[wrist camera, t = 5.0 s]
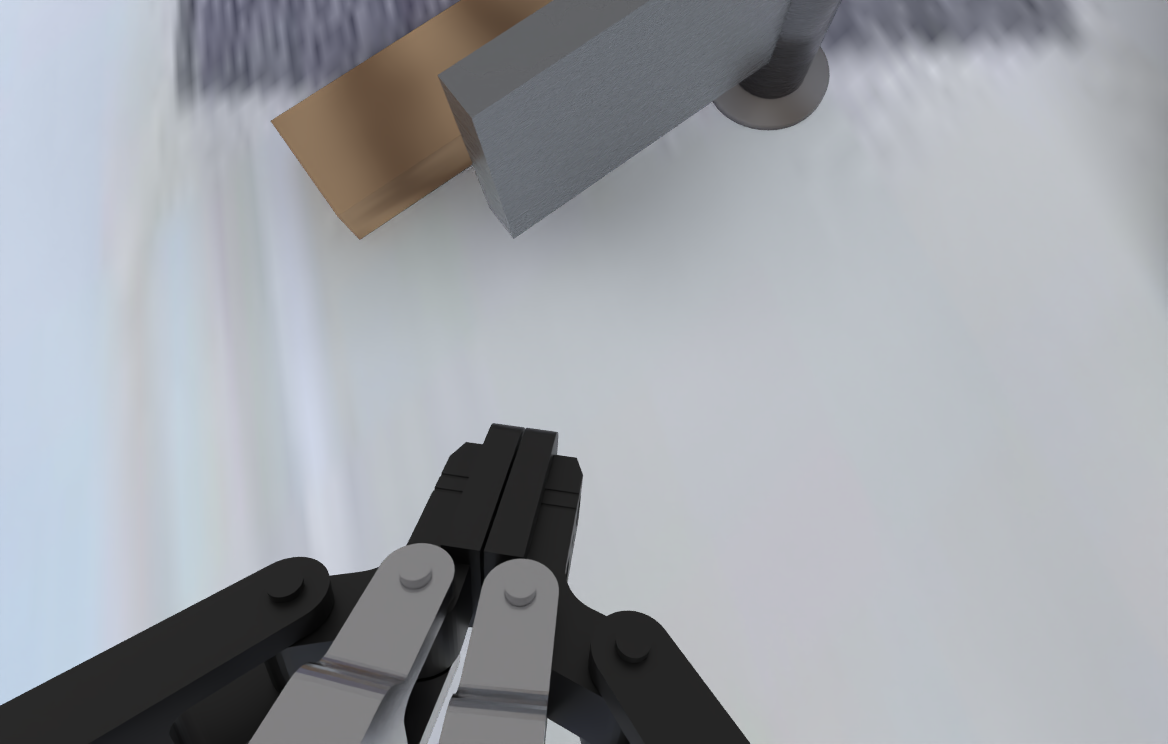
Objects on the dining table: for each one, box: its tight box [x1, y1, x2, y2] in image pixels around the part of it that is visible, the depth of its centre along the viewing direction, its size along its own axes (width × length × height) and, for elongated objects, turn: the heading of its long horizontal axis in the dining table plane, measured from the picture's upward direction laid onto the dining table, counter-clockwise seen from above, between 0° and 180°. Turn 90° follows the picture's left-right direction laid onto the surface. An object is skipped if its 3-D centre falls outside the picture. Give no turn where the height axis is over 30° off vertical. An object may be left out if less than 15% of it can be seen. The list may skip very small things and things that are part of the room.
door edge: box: [271, 0, 829, 240], centre depth 26 cm, size 26×18×8 cm
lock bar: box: [438, 0, 842, 239], centre depth 23 cm, size 17×4×10 cm, turn 126°
